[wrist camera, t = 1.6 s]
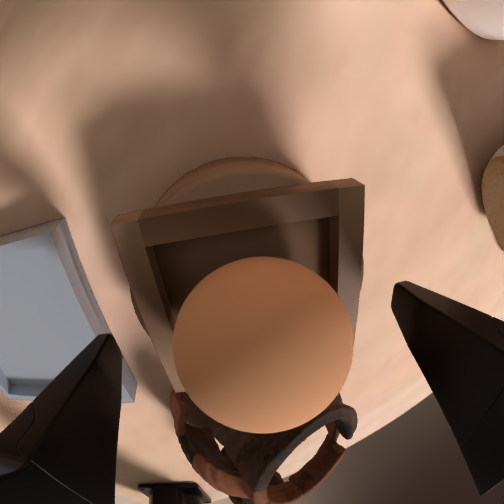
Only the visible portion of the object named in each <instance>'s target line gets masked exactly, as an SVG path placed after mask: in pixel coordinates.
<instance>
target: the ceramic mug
mask: <svg viewBox="0 0 504 504" xmlns="http://www.w3.org/2000/svg"><path fill="white" fill-rule="evenodd" d="M482 200H483V205H484V209H485V212H486V216H487V219H488V221H489V224H490V226H491V228H492V230H493V232H494V234H495V236H496V238H497V240H498V241H499V243H500V245H501V246H502V248H503V249H504V145H502V146H501V147H500V148H499V149H498V150H497V151H496V153H495V154H494V156H493V157H492V159H491V160H490V161H489V162H488V164H487V166H486V168H485V170H484V173H483V178H482Z"/></svg>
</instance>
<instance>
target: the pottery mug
mask: <svg viewBox="0 0 504 504" xmlns="http://www.w3.org/2000/svg"><path fill="white" fill-rule="evenodd" d="M170 408H171V413H172V416H173V419H174V427H175V430H176V435H177V437H178V440H179V443H180V444H181V448H182V450H183V452H184V453H185V455H186V457H187V459H188V461H189V462H190V463H191V464H192V467H193V469H194V470H195V471H196V472H197V473H198V474H199V475H200V476H201V477H202V478H203V479H204V480H205V481H206V482H208V483H209V484H210V485H211V486H212V487H213V488H215V489H217V490H219V491H221V492H224V493H225V494H227V495H229V498H230V499H231V501H232V502H233V503H234V504H291V503H293V502H296V501H298V500H299V499H301V498H302V497H303V496H305V495H307V494H309V493H310V492H311V491H312V490H313V489H314V488H315V487H316V486H317V485H319V484H320V483H321V482H322V481H323V480H324V479H325V478H326V477H327V476H328V474H329V473H330V472H331V471H332V470H333V469H334V468H335V466H336V465H337V464H338V462H339V461H340V459H341V458H342V457H343V455H344V454H345V451H346V449H345V448H344V447H342V446H341V445H339V444H337V442H336V441H337V438H338V436H339V433H340V434H341V435H342V436H343V437H344V438H345V439H351V438H352V436H353V433H354V431H355V430H356V427H357V420H358V419H357V414H356V411H355V410H354V408H352V407H350V406H348V405H345V404H343V403H342V399H341V396H340V393H338V395H337V396H336V397H335V399H334V400H333V401H332V402H331V403H330V404H329V406H328V407H327V408H326V409H325V410H323V411H322V412H321V413H320V414H318V415H317V416H316V417H314V418H313V419H311V420H310V421H308V422H306V423H304V424H302V425H300V426H298V427H295V428H292V429H289V430H286V431H281V432H276V433H250V432H244V431H239V430H236V429H233V428H230V427H228V426H225V425H223V424H222V425H220V426H219V427H218V428H216V429H215V430H214V431H212V430H211V429H208V428H207V429H206V428H203V429H202V428H197V427H193V426H191V425H189V424H188V423H186V420H187V414H188V408H187V406H186V405H185V404H184V403H183V402H182V396H181V393H180V392H178V393H176V392H175V390H174V389H173V390H172V393H171V397H170ZM324 425H325V426H326V428H327V430H328V434H327V436H326V438H325V440H324V442H323V443H322V445H321V446H320V448H319V450H318V451H317V453H316V455H314V457H313V458H312V459H311V460H309V461H308V462H307V463H306V464H305V465H304V466H303V467H302V468H301V469H300V470H299V471H298V472H296V473H295V474H293V475H291V476H290V478H289V481H287V482H284V481H283V479H282V478H281V475H280V474H279V473H278V472H276V470H277V469H278V468H279V466H280V465H281V464H282V463H283V462H284V461H285V459H286V458H287V457H288V456H289V455H290V454H291V453H292V451H293V450H294V449H295V448H296V447H297V446H298V445H300V444H301V442H303V441H305V439H306V438H307V437H309V436H310V435H311V434H313V433H314V432H315V431H317V430H318V429H320V428H321V427H323V426H324ZM214 437H215V438H216V439H217V440H218V441H219V442H220V443H221V444H222V445H223V446H224V448H223V449H222V450H221V452H220V449H219V447H218V444H217V443H216V441H215V439H214Z"/></svg>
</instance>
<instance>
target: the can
mask: <svg viewBox="0 0 504 504" xmlns="http://www.w3.org/2000/svg"><path fill="white" fill-rule="evenodd" d="M441 1H442V2H443V4H444V5H445V6H446V7H447V9H448V10H449V11H450V12H451V13H452V14H453V15H454V17H455V18H456V19H457V20H458V21H459V22H460V23H462V24H463V25H464V26H465V27H467V28H468V29H469V30H470V31H472V32H473V33H474V34H476V35H478V36H480V37H482V38H485V39H489V40H504V0H441Z"/></svg>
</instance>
